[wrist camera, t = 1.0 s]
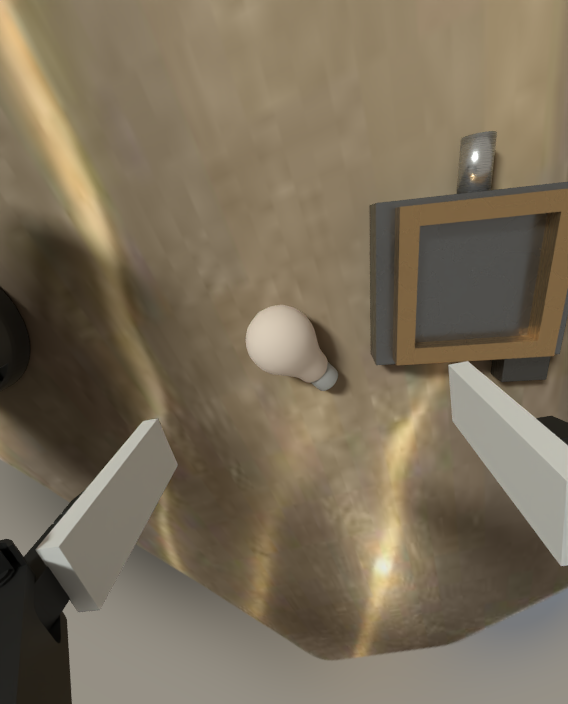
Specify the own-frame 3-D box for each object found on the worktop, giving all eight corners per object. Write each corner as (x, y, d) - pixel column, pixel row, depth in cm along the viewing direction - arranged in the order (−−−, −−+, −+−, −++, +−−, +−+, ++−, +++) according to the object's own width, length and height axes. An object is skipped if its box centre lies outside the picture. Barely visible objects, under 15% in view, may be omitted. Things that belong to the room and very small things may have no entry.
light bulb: (363, 392, 30) (280, 319, 25) (308, 421, 33) (225, 361, 28) (353, 346, 35) (283, 278, 30) (306, 375, 38) (235, 318, 33)
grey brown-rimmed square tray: (370, 379, 35) (379, 400, 31) (369, 153, 28) (379, 140, 23) (532, 370, 33) (565, 391, 29) (576, 127, 26) (628, 107, 22)
